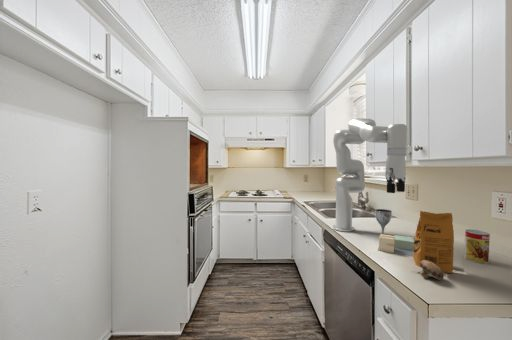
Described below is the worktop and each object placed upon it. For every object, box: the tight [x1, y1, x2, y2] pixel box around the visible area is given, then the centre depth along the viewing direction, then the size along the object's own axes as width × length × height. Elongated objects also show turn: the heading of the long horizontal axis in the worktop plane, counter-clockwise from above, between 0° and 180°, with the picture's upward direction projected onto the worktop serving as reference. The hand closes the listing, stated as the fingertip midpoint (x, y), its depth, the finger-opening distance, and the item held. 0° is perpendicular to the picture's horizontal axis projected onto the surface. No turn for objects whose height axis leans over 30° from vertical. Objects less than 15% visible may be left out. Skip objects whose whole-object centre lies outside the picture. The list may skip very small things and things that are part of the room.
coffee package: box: [412, 210, 455, 274], centre depth 101 cm, size 10×12×22 cm
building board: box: [377, 247, 413, 258], centre depth 121 cm, size 17×15×1 cm
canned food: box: [464, 229, 491, 264], centre depth 111 cm, size 8×8×12 cm
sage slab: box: [393, 234, 415, 251], centre depth 123 cm, size 8×8×4 cm
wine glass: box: [374, 208, 393, 235], centre depth 141 cm, size 8×8×15 cm
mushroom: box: [419, 260, 444, 281], centre depth 92 cm, size 8×8×6 cm
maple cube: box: [378, 233, 395, 254], centre depth 119 cm, size 6×6×6 cm
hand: (395, 192), depth 113 cm, fingers open, 9 cm apart
